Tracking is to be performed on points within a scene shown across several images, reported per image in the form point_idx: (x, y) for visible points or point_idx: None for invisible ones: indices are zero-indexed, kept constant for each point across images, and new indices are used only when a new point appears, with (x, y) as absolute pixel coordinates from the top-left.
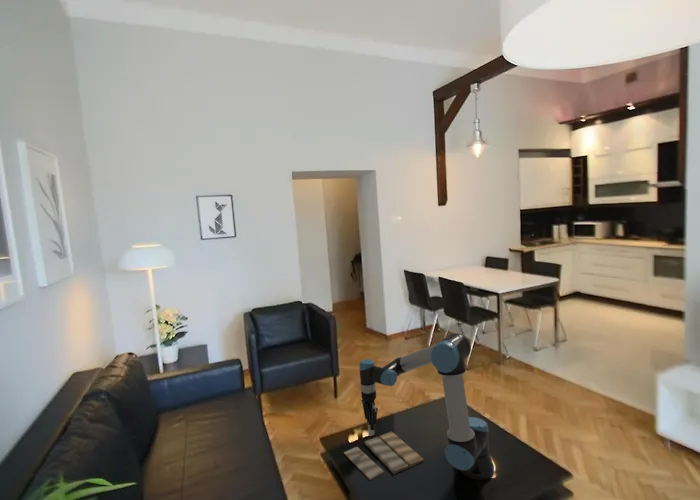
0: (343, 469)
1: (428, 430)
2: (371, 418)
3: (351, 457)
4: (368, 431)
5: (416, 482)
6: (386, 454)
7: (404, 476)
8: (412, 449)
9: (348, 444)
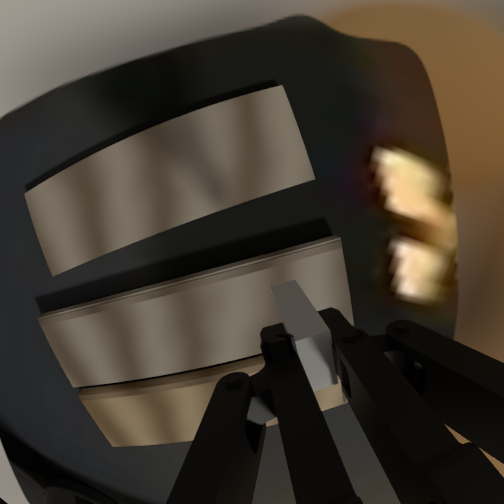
0: (141, 66)
1: None
2: (224, 444)
3: (214, 118)
4: (298, 291)
5: (14, 368)
6: (166, 332)
7: (37, 346)
8: (181, 441)
9: (361, 139)
